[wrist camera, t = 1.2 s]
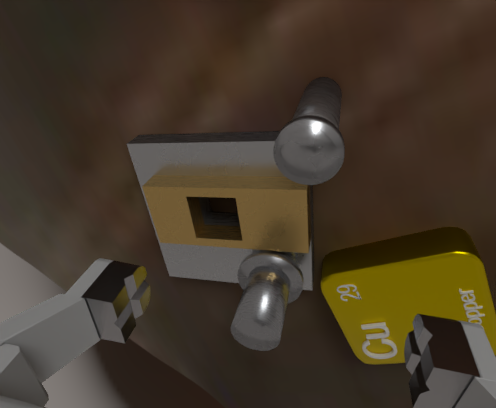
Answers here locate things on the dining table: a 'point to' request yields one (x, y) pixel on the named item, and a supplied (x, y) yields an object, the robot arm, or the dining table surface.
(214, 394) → the dining table surface
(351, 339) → the element tile
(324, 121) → the steel pin
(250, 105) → the dining table surface
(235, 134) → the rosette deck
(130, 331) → the robot arm
